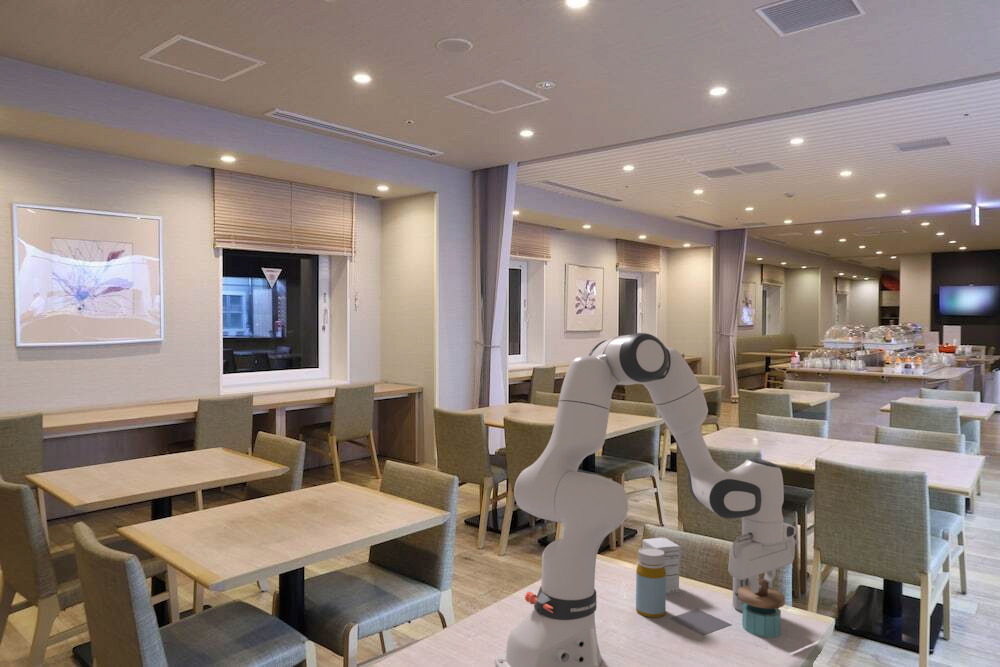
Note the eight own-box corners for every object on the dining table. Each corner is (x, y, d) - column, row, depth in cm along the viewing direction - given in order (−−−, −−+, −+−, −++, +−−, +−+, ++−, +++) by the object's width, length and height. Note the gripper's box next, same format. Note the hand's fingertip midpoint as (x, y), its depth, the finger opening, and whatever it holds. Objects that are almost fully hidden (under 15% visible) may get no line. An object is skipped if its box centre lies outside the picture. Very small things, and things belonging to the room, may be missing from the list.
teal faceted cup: (766, 642, 143) (766, 619, 143) (735, 627, 150) (735, 606, 150) (787, 633, 147) (787, 611, 147) (756, 619, 154) (757, 598, 154)
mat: (703, 636, 145) (703, 635, 145) (669, 619, 153) (669, 618, 153) (731, 626, 151) (731, 624, 151) (697, 610, 159) (697, 608, 159)
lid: (767, 612, 142) (767, 593, 142) (728, 596, 150) (729, 578, 150) (793, 602, 147) (794, 583, 147) (755, 587, 156) (755, 569, 156)
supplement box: (640, 585, 174) (641, 538, 174) (664, 582, 176) (665, 536, 176) (655, 596, 167) (655, 547, 167) (680, 593, 169) (680, 545, 169)
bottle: (666, 620, 153) (667, 557, 153) (635, 617, 154) (636, 555, 154) (664, 608, 160) (665, 548, 160) (635, 605, 161) (636, 545, 161)
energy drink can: (733, 613, 157) (734, 552, 157) (731, 603, 163) (732, 544, 163) (760, 616, 156) (761, 554, 156) (756, 606, 162) (757, 546, 162)
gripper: (746, 541, 140) (745, 605, 140) (800, 526, 152) (799, 585, 152) (721, 533, 146) (720, 594, 146) (775, 519, 157) (775, 576, 157)
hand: (761, 589), depth 149 cm, fingers closed on lid, 3 cm apart
